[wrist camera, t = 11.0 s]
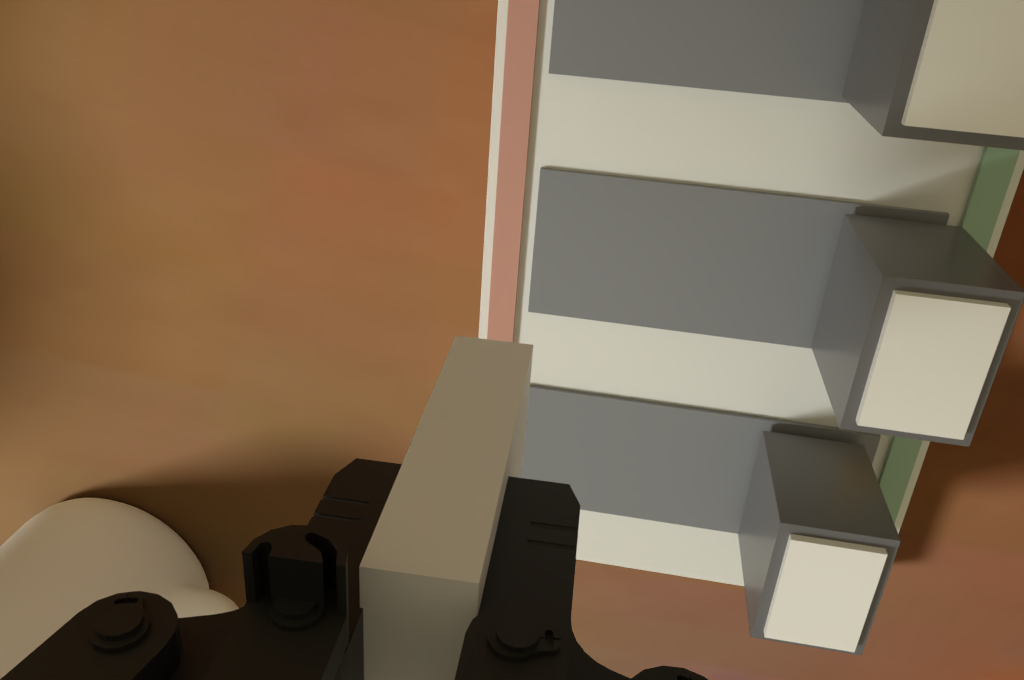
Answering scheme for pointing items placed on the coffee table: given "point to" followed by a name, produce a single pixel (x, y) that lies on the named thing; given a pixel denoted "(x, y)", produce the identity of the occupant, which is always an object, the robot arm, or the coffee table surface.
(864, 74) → the block
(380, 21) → the coffee table surface
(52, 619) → the mug
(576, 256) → the panel
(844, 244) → the block
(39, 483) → the coffee table surface
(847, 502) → the block
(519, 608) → the robot arm
